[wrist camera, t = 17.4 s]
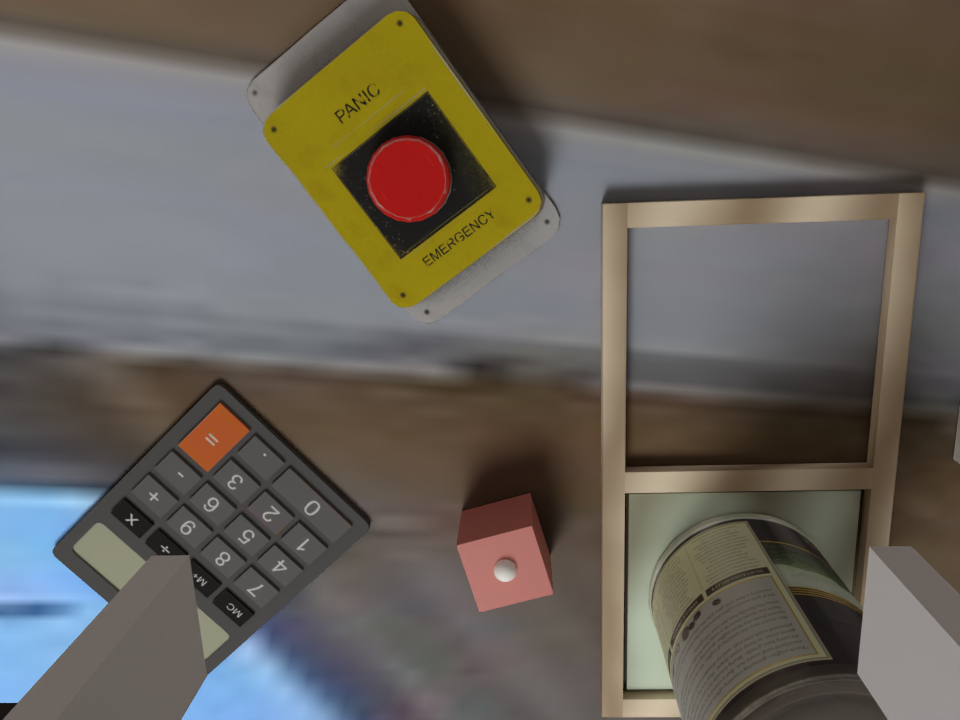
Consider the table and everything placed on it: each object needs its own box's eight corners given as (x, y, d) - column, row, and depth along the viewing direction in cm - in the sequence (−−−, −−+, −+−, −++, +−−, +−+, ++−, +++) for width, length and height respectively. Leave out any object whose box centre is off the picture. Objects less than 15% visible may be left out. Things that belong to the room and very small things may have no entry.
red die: (530, 492, 43) (532, 531, 39) (550, 555, 44) (554, 600, 40) (461, 511, 44) (455, 551, 39) (482, 572, 45) (479, 619, 40)
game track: (916, 192, 38) (925, 192, 38) (864, 707, 46) (870, 716, 45) (601, 203, 39) (603, 204, 38) (600, 707, 47) (601, 717, 46)
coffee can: (837, 507, 42) (988, 674, 29) (826, 671, 45) (960, 896, 31) (645, 512, 43) (705, 678, 29) (645, 674, 46) (699, 895, 32)
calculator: (371, 529, 44) (198, 683, 47) (374, 521, 45) (204, 673, 48) (216, 383, 42) (47, 553, 45) (222, 378, 43) (56, 545, 46)
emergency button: (414, 348, 38) (209, 85, 35) (425, 329, 42) (242, 92, 39) (573, 233, 36) (370, -54, 33) (567, 224, 40) (386, -30, 37)
